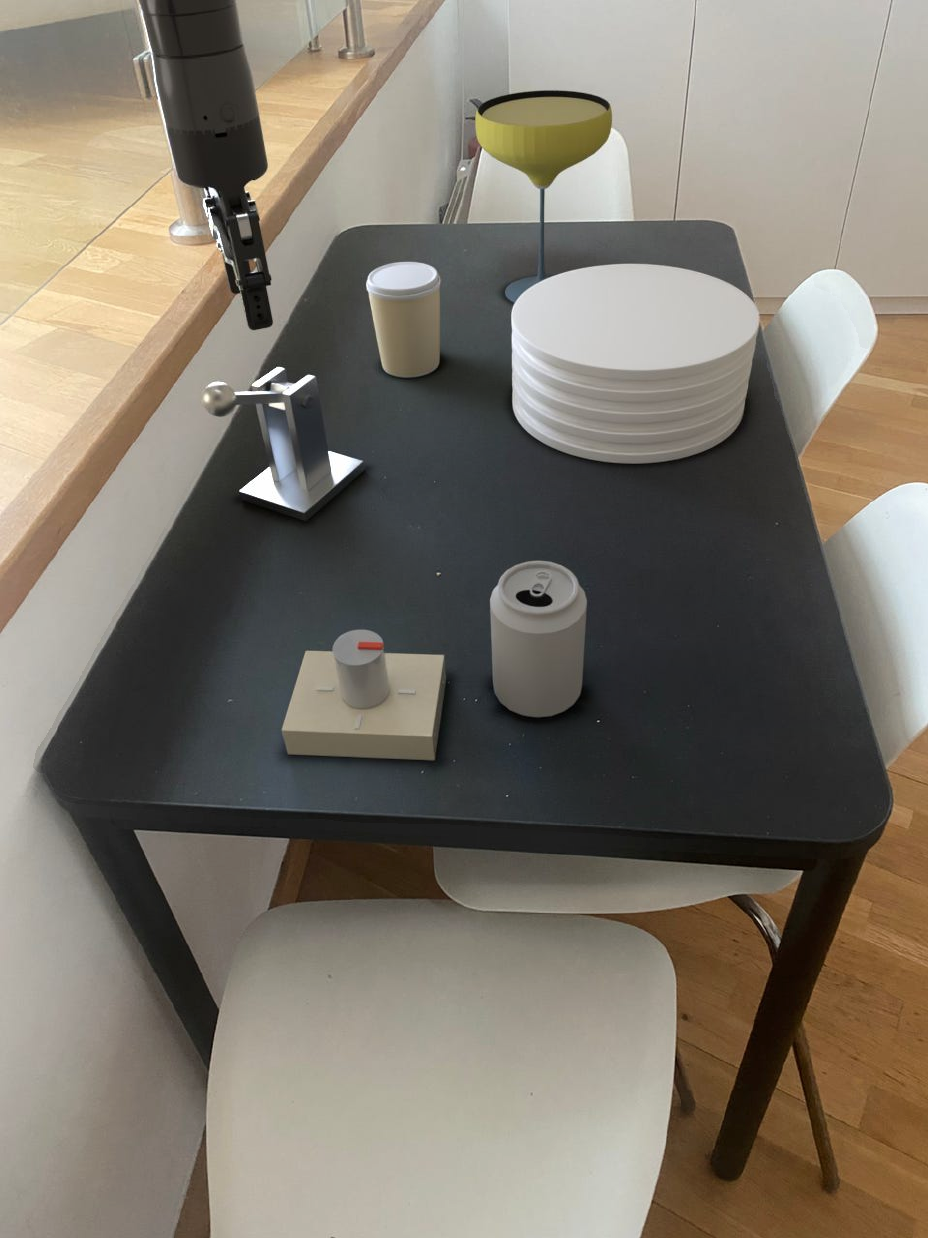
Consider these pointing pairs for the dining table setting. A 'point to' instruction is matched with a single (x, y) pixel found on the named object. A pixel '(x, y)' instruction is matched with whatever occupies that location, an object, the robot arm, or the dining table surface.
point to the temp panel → (367, 711)
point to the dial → (361, 668)
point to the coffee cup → (406, 317)
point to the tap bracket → (297, 453)
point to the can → (538, 638)
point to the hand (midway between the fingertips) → (251, 308)
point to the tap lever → (240, 397)
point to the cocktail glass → (542, 142)
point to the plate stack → (632, 361)
